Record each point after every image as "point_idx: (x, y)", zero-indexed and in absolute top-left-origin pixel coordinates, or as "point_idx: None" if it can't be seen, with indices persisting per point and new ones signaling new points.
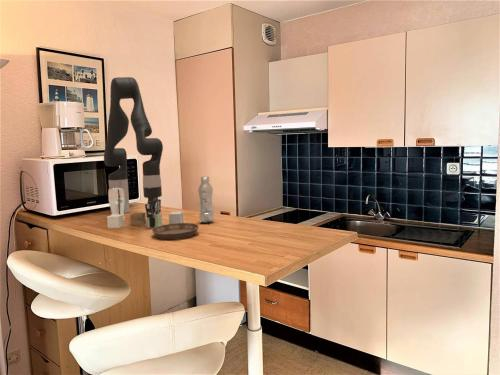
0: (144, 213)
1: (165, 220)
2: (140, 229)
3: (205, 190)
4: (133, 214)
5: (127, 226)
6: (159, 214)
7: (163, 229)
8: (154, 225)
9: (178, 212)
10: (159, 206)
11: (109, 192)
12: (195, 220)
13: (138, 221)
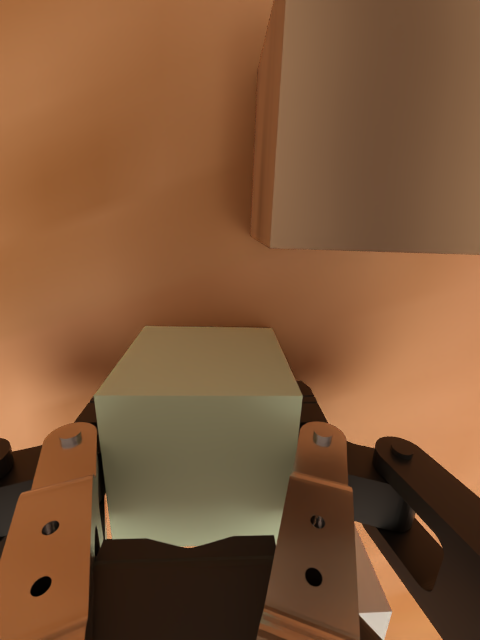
0: (433, 252)
1: (476, 406)
2: (49, 282)
3: None
4: (305, 33)
5: (220, 25)
6: (214, 539)
7: None
8: None
9: None
10: (438, 621)
11: None
12: (395, 610)
13: (257, 185)
